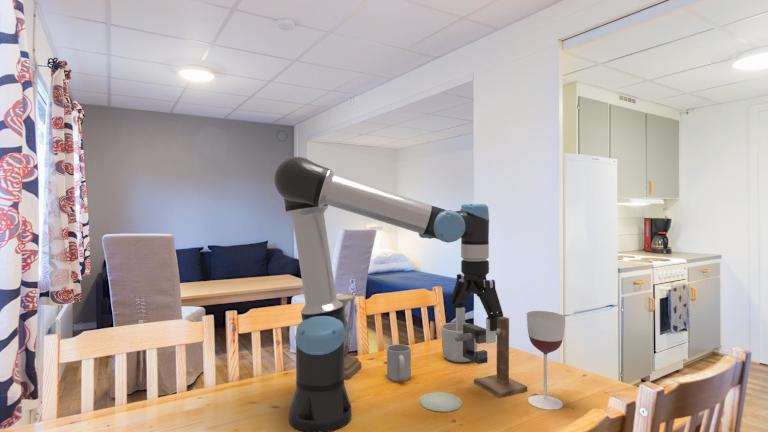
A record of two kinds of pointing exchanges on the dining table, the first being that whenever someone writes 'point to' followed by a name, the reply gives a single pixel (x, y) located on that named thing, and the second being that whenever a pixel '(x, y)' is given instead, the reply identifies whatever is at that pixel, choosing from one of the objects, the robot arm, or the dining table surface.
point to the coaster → (440, 402)
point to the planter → (453, 343)
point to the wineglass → (545, 347)
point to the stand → (498, 364)
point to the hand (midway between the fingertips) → (475, 336)
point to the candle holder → (349, 362)
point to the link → (468, 345)
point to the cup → (399, 362)
